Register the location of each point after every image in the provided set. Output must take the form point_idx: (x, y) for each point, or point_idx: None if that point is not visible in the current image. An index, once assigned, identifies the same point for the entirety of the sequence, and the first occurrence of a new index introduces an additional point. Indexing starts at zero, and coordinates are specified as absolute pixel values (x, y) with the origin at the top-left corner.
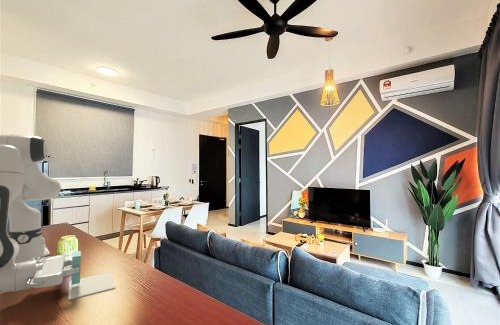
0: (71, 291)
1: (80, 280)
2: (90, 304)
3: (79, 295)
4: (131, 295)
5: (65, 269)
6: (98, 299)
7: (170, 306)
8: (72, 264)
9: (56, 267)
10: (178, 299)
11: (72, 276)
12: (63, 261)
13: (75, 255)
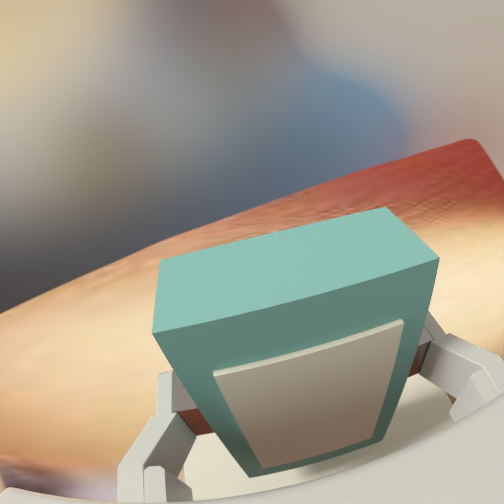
0: (375, 454)
1: (212, 448)
2: (488, 323)
3: (435, 388)
4: (423, 234)
5: (490, 380)
6: (453, 311)
7: (463, 179)
8: (419, 336)
9: (500, 473)
10: (435, 171)
11: (392, 407)
12: (230, 500)
13: (369, 250)
